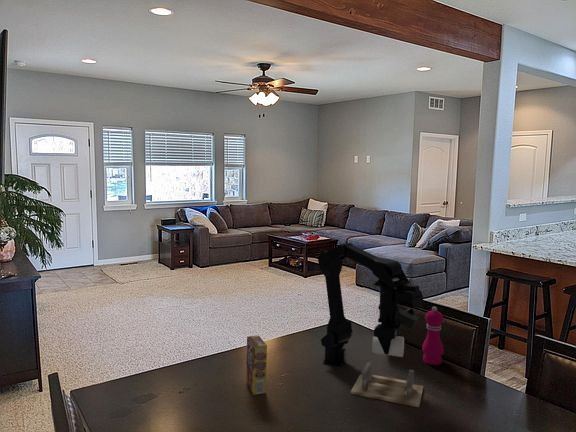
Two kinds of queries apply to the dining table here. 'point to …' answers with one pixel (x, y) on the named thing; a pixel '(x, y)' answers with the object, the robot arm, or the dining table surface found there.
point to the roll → (395, 346)
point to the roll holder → (388, 388)
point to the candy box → (256, 364)
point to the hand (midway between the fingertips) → (388, 350)
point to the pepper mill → (433, 338)
